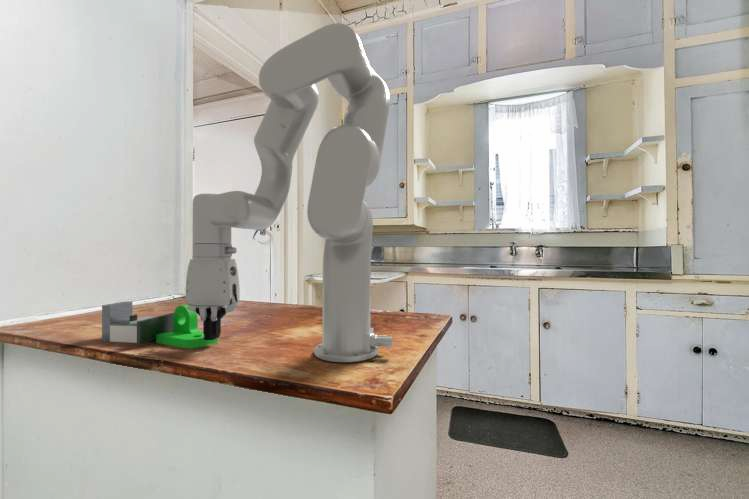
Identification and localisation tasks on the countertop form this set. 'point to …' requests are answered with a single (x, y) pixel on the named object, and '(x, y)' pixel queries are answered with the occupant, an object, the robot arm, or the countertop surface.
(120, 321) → the gauge housing
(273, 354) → the countertop surface
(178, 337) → the mechanical part
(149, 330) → the dark green piece
